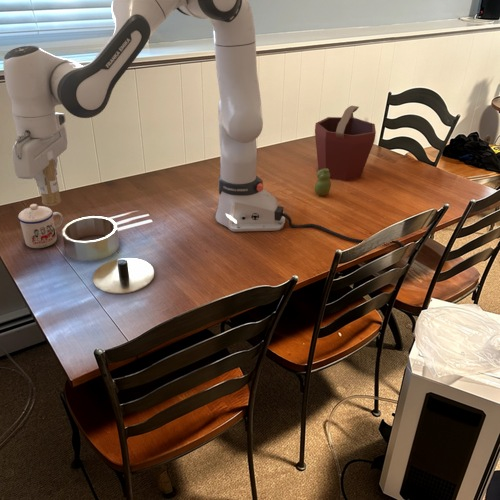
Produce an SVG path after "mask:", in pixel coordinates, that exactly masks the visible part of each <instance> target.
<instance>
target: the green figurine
mask: <svg viewBox="0 0 500 500" xmlns="http://www.w3.org/2000/svg"><path fill="white" fill-rule="evenodd" d="M316 177H317V182H315V185H314V192H315V193H316V194H317V195H318V196H320V197H324V196H326V195H329V193H330V191H331V188H332V182H331V178H330V173H329V169H327V168H323V169H321V170H318V171H317V174H316Z"/></svg>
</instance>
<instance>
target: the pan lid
mask: <svg viewBox="0 0 500 500" xmlns="http://www.w3.org/2000/svg"><path fill="white" fill-rule="evenodd" d="M154 278H155V269H154V267H153V265H151V264H150V263H149V262H147V261H146V260H143V259H139V258H133V257H125V258H123V257H122V258H117V259H113V260H110V261H107V262H106V263H103V264H102V265H100V266H99V267H97V269H96V270H95V271H94V273H93V275H92V282H93V285H94V286H95V287H96V289H98V290H99V291H101V292H103V293H106V294H112V295H127V294H131V293H132V294H133V293H135V292H138V291H141V290H142V289H144V288H146V287H148V286H149V285H150V284H151V283H152V282H153V280H154Z"/></svg>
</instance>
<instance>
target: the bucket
mask: <svg viewBox="0 0 500 500" xmlns="http://www.w3.org/2000/svg"><path fill="white" fill-rule="evenodd" d="M359 108H360V106H358V105H357V106H356V105H349V106H348V107H347V108H345V110H344V112H343V114H342V115H341V116H340V117H339V116H327V117H326V118H324V119H321V120H319V121H317V122H316V123H315V125H314V136H315V147H316V149H315V150H316V159H317V169H318V171H319V170H321V169H323V168H327V169H329V173H330V179H332V180H337V181H342V182H347V181H351V180H356V179H360V178H361V177H362V175H363V172H364V170H365V167H366V164H367V162H368V159H369V157H370V153H371V151H372V148H373V146H374V143H375V139H376V134H377V131H376V124H375V123H373V122H369V121H366V120H363V119H360V118H356V117H354V113H355V112H356V111H358V109H359Z"/></svg>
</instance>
